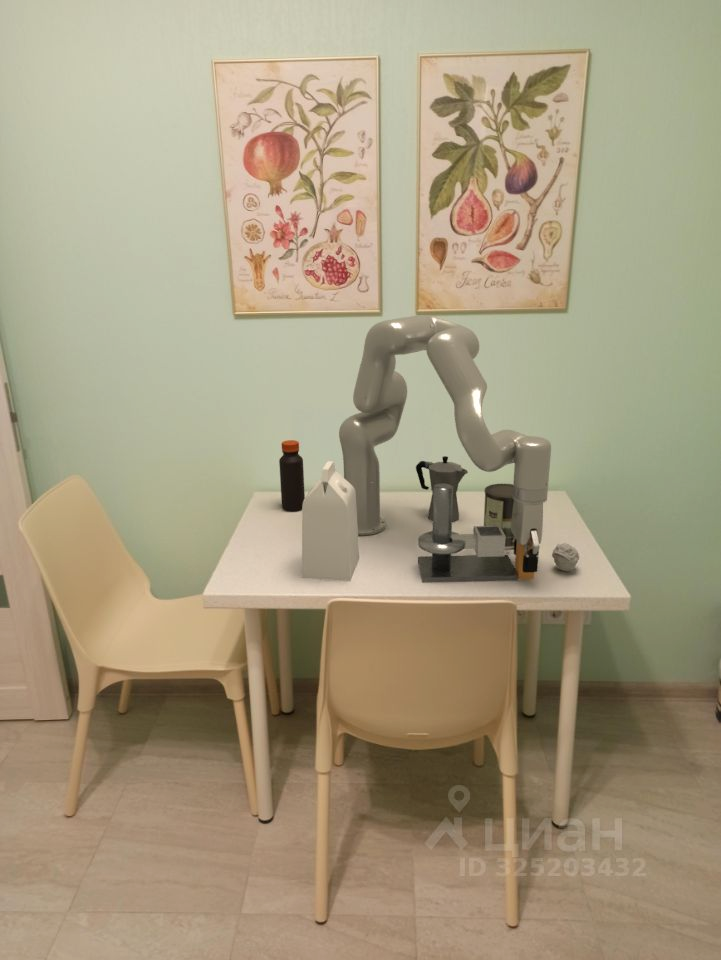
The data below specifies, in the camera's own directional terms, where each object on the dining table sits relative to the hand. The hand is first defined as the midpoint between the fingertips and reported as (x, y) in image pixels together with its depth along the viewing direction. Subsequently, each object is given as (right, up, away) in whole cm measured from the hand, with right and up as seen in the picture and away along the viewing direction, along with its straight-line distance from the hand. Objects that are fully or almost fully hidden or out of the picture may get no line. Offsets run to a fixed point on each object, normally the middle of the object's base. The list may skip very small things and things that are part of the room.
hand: (525, 562), depth 158 cm
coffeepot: (-16, +9, +35) cm, 39 cm away
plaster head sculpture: (+10, -2, +3) cm, 11 cm away
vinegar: (-58, +11, +43) cm, 73 cm away
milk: (-45, -2, +6) cm, 46 cm away
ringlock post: (-13, -2, +4) cm, 14 cm away
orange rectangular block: (0, -3, +1) cm, 3 cm away
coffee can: (-1, +3, +19) cm, 19 cm away
